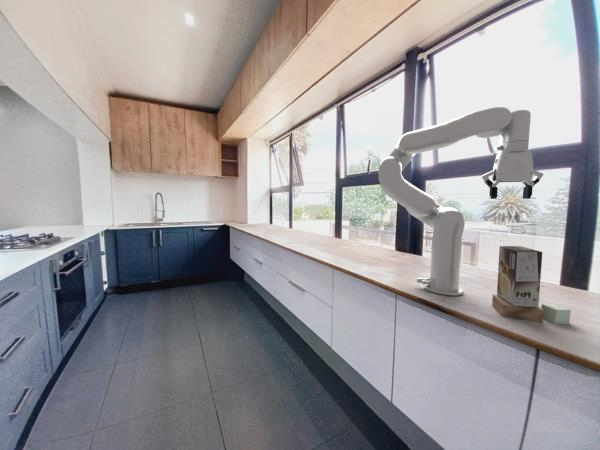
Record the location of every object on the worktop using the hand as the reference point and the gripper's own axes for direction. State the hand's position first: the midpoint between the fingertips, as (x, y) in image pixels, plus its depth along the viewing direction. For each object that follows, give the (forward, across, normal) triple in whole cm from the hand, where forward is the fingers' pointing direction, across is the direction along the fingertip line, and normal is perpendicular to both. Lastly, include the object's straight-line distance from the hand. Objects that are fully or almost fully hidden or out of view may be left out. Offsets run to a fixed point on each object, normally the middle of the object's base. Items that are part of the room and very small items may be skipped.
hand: (509, 198), depth 85 cm
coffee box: (+32, -4, -16) cm, 35 cm away
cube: (+35, +4, -18) cm, 40 cm away
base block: (+36, -4, -16) cm, 39 cm away
